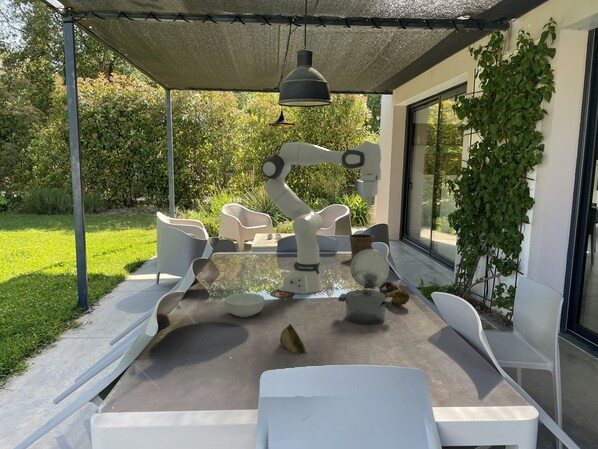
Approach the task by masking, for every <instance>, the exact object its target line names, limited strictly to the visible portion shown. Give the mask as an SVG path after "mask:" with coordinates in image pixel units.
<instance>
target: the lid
mask: <svg viewBox="0 0 598 449" xmlns="http://www.w3.org/2000/svg"><path fill="white" fill-rule="evenodd" d="M349 270H350V274H351V277H352V279H353V280H354V282H355V283H357V284H358V285H360V286H361V287H363V289H372V290H375V288H377V287H380V286H381V285H382V284H383V283H385V282H386V280H387V278H388V277H389V273H390V264H389V261H388V259H387V258H386V256H385V254H383V253H382V252H380V251H379V250H377V249H374V248H373V249H372V248H371V249H366V250H362V251H360V252H358V253H357V254H356V255H355V256H354V258H353V259H352V258H351V262H350V267H349Z"/></svg>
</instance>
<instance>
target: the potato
mask: <svg viewBox="0 0 598 449" xmlns="http://www.w3.org/2000/svg"><path fill="white" fill-rule="evenodd" d="M386 297H390V298H392V303H391V305H395V306H402V305H406V304H407V303H408V302H409V301H410V295H409V293H408V292H407V291H406V290H403V289H399V290H396V291H394V292H391V293H387V294H386V295H385V299H386Z"/></svg>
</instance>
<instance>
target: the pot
mask: <svg viewBox="0 0 598 449" xmlns="http://www.w3.org/2000/svg"><path fill="white" fill-rule="evenodd" d="M338 302H343V303H344V302H345V320H346V321H348V322H349V323H352V324H356V325H361V326H371V325H372V326H373V325H379V324H382V323H383V322H385V319H386V316H385V315H386V306H389V307H391V305H392V298H390V297H386V299H385V295H384V294H383V293H381V292H380V291H377V290H375V289H365V288H362V289H357V290H354V289H353V290H350V291H348V292H346V293H341V294H340V295H339V296H338Z"/></svg>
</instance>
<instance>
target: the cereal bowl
mask: <svg viewBox="0 0 598 449" xmlns="http://www.w3.org/2000/svg"><path fill="white" fill-rule="evenodd" d="M224 306H225V309H226V311H227V312H228V313H230V314H232V315H235V317H238V316H239V318H249V317H248V316H250V317H252V316H254V315H256V314H258V313H260V312H261V311H262V310H263V309H264V306H265V297H264V296H262V295H260V294H257V293H250V292H242V293H234V294H230V295H228V296H226V297H225V298H224ZM251 315H252V316H251Z"/></svg>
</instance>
